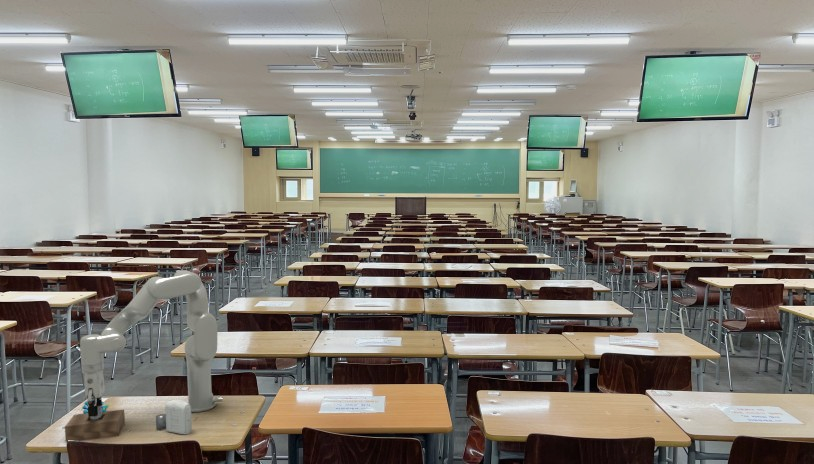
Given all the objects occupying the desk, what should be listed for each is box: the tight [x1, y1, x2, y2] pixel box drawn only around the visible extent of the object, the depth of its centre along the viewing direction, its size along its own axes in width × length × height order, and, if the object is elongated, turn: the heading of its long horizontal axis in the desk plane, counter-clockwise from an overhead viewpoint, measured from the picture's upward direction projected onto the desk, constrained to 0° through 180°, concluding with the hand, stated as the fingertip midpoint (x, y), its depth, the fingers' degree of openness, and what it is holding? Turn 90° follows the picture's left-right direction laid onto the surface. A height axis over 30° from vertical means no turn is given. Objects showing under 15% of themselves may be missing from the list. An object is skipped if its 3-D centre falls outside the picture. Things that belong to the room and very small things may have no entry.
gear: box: [81, 400, 110, 414], centre depth 238 cm, size 11×6×10 cm
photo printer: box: [165, 399, 193, 435], centre depth 222 cm, size 10×4×12 cm, turn 69°
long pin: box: [90, 405, 103, 421], centre depth 222 cm, size 4×4×10 cm
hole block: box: [64, 408, 126, 442], centre depth 222 cm, size 18×12×6 cm, turn 106°
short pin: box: [155, 413, 166, 431], centre depth 226 cm, size 4×4×5 cm
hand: (95, 412), depth 222 cm, fingers open, 6 cm apart
